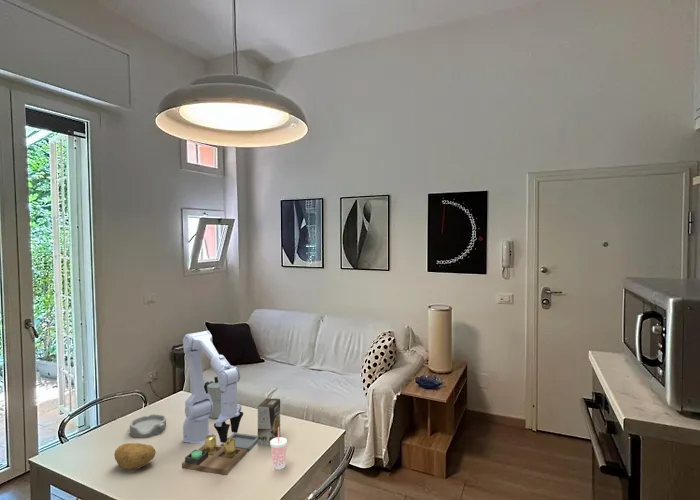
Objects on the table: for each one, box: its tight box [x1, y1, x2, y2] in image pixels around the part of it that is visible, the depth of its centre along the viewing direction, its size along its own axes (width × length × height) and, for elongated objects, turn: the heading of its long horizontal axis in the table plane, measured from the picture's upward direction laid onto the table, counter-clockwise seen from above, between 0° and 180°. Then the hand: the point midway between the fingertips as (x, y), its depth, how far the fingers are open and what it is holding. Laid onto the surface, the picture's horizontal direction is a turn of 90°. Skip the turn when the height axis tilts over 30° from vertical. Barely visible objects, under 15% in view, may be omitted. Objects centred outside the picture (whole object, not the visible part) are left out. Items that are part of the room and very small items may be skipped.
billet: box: [223, 436, 236, 458], centre depth 146 cm, size 4×4×7 cm
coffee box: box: [257, 397, 281, 448], centre depth 158 cm, size 9×6×16 cm
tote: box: [220, 432, 258, 453], centre depth 156 cm, size 12×10×2 cm
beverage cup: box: [270, 427, 288, 470], centre depth 141 cm, size 6×6×14 cm
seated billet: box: [204, 434, 217, 456], centre depth 148 cm, size 4×4×7 cm
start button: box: [191, 449, 202, 458], centre depth 141 cm, size 4×4×2 cm
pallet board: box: [181, 443, 248, 477], centre depth 144 cm, size 18×14×4 cm
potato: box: [113, 442, 157, 470], centre depth 141 cm, size 10×14×8 cm
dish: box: [129, 413, 167, 439], centre depth 168 cm, size 14×14×5 cm
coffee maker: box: [204, 376, 221, 420], centre depth 184 cm, size 15×9×18 cm, turn 59°
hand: (229, 437), depth 146 cm, fingers open, 7 cm apart
